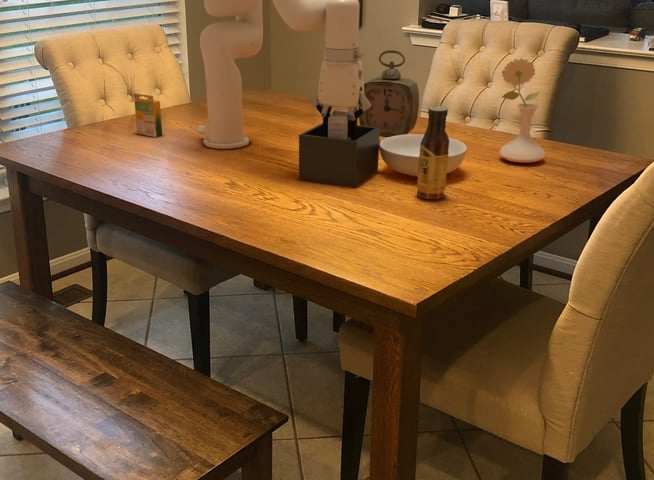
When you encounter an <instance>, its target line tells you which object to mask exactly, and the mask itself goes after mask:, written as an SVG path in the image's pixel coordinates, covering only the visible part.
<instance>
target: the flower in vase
mask: <svg viewBox="0 0 654 480" xmlns="http://www.w3.org/2000/svg"><path fill="white" fill-rule="evenodd" d="M501 75H502V77H503V82H504V83H505V82H506V83H507V84H510V85H512V86H513V85H514V86H518V92H516V91H515V90H510V91H507V92H506V93H505V94H503V95H502V96H501V98H502V99H507V100H511V101H514V100H516V99H518V97H519V98H521V101H522V103H518V104H517V107H518V109H519V112H520V130H519V133H518V135H517V136H516V137H515V138H513V139H512V140H510V141H509V142H507V143H506V144H505V145H503V146H502V147H501V148H500V150H499V152H498V153H499V156H500V157H501V158H502V159H504V160H506V161H509V162H513V163H520V164H521V163H523V164H530V163H536V162H540V161H542V160H543V159H544V158H545V157H546V152H545V150H544V149H543V148H542V147H541V146H540V145H539V143H538V142H536V141H535V139H533V137H532V135H531V131H530V130H531V123H532V119H533V116H534V114H535V112H536V111H537V109H538V108H539V105H538V104H534V103H526V102H527V101H532V100H535V99H536V98H538V96H539V95H540V93H541V90H539V91H536V92H533V93H530V94H527V96H526V97H525V98H523V95H522V94H521V85H523V84H525V83H528V82H530V81H531V79H533V77H534V76H535V75H536V69H535V65H534V62H533V61H529V59H527V58H526V59H525V58H519V59H518V58H514V59H513V61H511V60H510V61H509V62H508V63H507V64H506V65H505V66H504V68H503V69H502V70H501ZM520 84H521V85H520Z"/></svg>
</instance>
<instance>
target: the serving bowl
mask: <svg viewBox="0 0 654 480" xmlns="http://www.w3.org/2000/svg"><path fill="white" fill-rule="evenodd" d="M424 134H425V133H423V134H422V133H408V134H407V135H398V136H392V137H385V138H383V139H381V141H379V154H380V156H381V159H382V160H383V162H384V164H385V165H386V166H387V167H388V168H390V169H391V170H393V171H395V172H397V173H400V174H402V175H407V176H409V177H414V178H418V167H419V155H420V145H421V141H422V139H423V137H424ZM448 138H449V149H448V152H449V154H448V164H447V174H449V173H452V172H453V171H455V170H456V169H458V167H460V166H461V164H462V163H463V162H464V160H465V157H466V154H467V151H468V147H467V145H466V143H464V142H462V141H460V140H458V139H456V138H453V137H448Z"/></svg>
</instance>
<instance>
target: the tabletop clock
mask: <svg viewBox="0 0 654 480" xmlns="http://www.w3.org/2000/svg"><path fill="white" fill-rule="evenodd" d="M386 54H396V55H398V56H400V57H402V62H401V63H398V64H395V62H394V61H393V60H391V61H390V62H389V63H385V62H383V61H382V59H381V58H382V57H383V55H386ZM378 61H379V63H380V64H381V65H382V66H383V67H387V68H385V69H384V70H383V71H382V73H381V75H380V76H377V77H374V78H372V79H370V80H368V81H367V82H364V95H365V96H366V98H367V99H368V101H369V102H370V103H371V107H370V108H369V109H367V110H366V111H365V112H364V113H363V114H362V115H361V116H360V117H359V118H358V121H359V125H360V126H369V127H379V128H380V137H381V138H389V137H392V136H398V135H408V134H410V132H412V131H413V130H414V129H415V126H416V125H417V121H418V115H419V108H420V92H419V91H420V90H419V86H418V84H417V81H415V80H413V79H410V78H406V77H402V74H401V73H400V70H398V69H397V68H398V67H402V65H404V64H405V62H406V57H405V55H404V54H403V53H402V52H401V51H399V50H395V49H394V50H393V49H389V50H384V51H382V52H381V53H380V54H379V56H378ZM361 107H362V104H359V105H358V109H360V108H361Z"/></svg>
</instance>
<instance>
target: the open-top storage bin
mask: <svg viewBox="0 0 654 480" xmlns="http://www.w3.org/2000/svg"><path fill="white" fill-rule="evenodd" d="M380 137H381V136H380V128H379V127H369V126H360V124H357V132H356V133H355V135H354V136H352V137H351V140H345V139H337V138H328V134H327V135H325V134H324V130H323V122H322V123H319V124H317V125H316V126H314V127H312V128H310V129H308V130H305V131H304V132H301V133H299V134H298V180H299V181H306V182H312V183H319V184H326V185H333V186H339V187H340V186H342V187H348V188H353V189H354V188H357V187H358V186H360V185H361V184H363V183H364V182H365V181H367V180H368V179H370V178H371V177H372V176H374V175H375V174H377V173H378V172H379V158H380V156H379V155H380Z"/></svg>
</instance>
